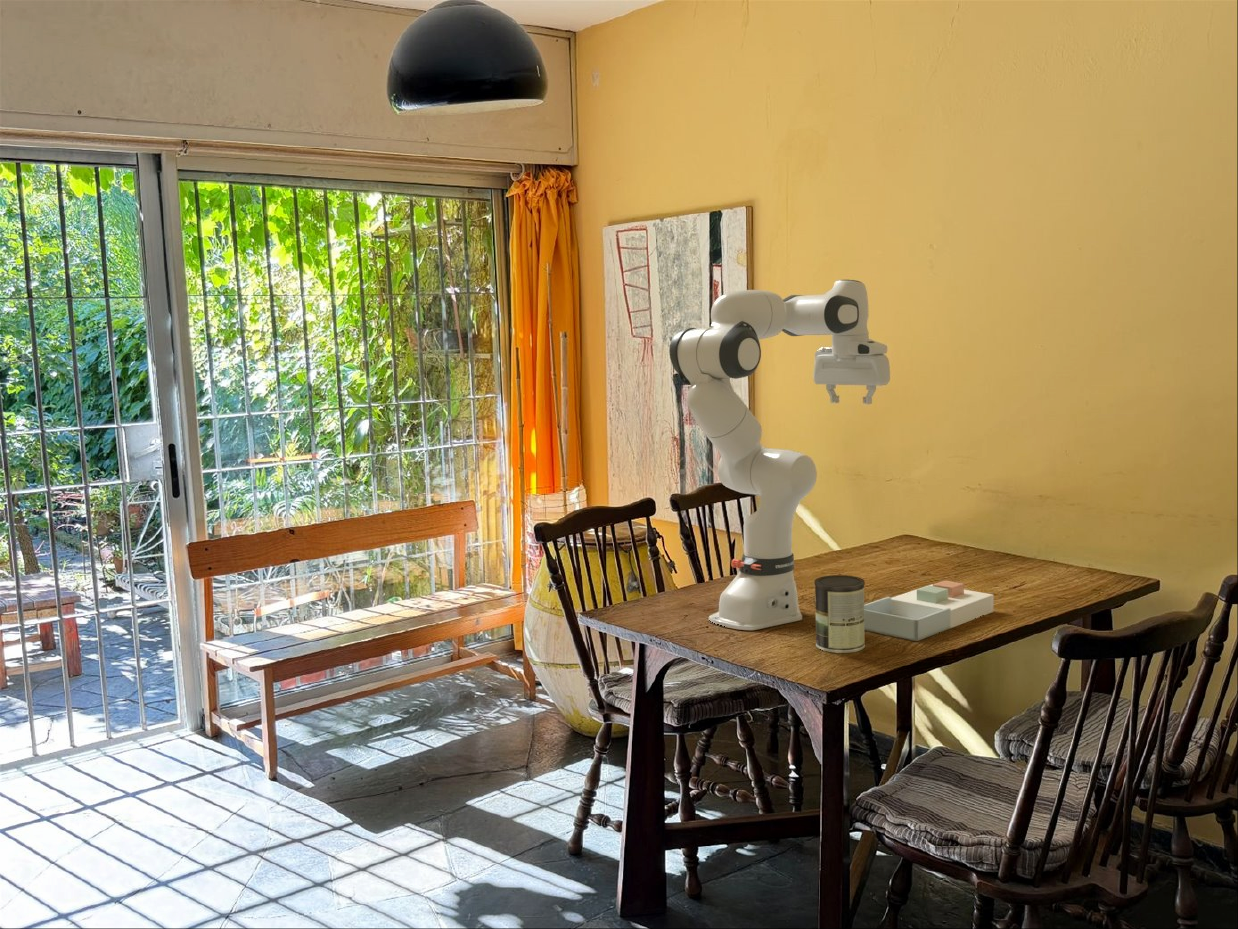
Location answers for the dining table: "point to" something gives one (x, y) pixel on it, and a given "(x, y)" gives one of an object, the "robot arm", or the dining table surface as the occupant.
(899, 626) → the box
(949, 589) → the tile terracotta
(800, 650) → the dining table surface
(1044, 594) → the dining table surface
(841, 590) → the coffee can
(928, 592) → the tile sage
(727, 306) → the robot arm
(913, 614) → the white shallow box
